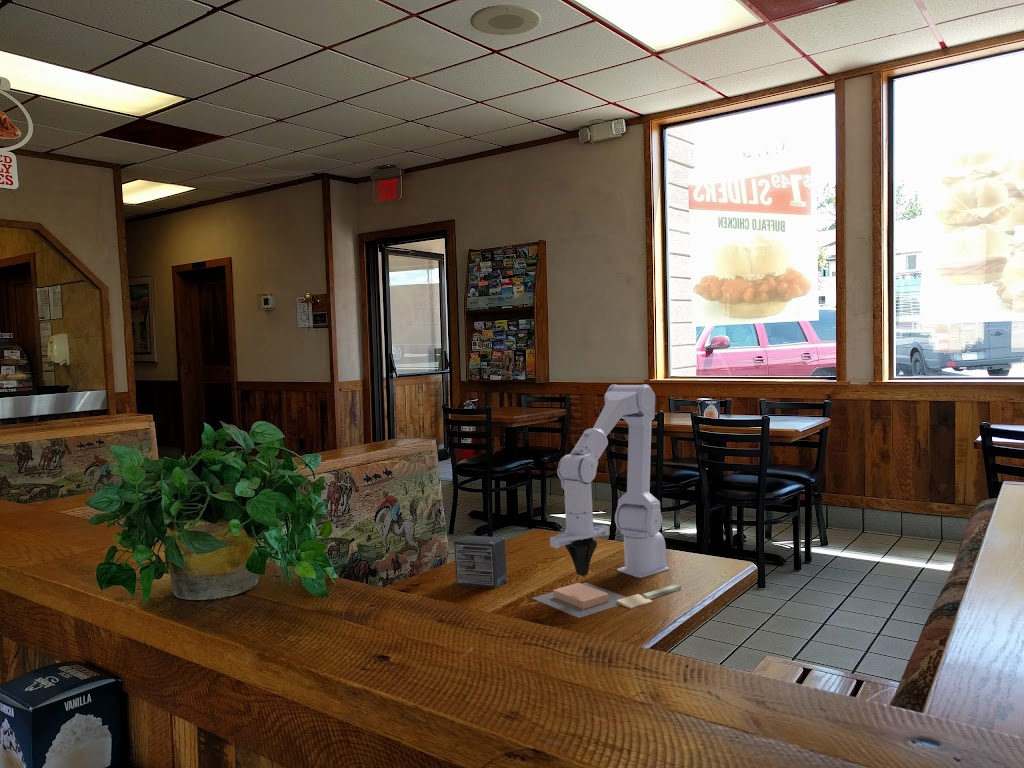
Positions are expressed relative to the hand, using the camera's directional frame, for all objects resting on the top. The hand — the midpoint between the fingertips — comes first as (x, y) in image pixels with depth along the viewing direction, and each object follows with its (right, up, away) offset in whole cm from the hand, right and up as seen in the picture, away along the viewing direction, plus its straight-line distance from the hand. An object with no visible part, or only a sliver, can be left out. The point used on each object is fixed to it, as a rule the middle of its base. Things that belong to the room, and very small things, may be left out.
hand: (582, 574), depth 166 cm
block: (+3, -4, +2) cm, 5 cm away
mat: (0, -6, 0) cm, 6 cm away
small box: (-22, -6, +16) cm, 27 cm away
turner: (+15, -5, -1) cm, 15 cm away
